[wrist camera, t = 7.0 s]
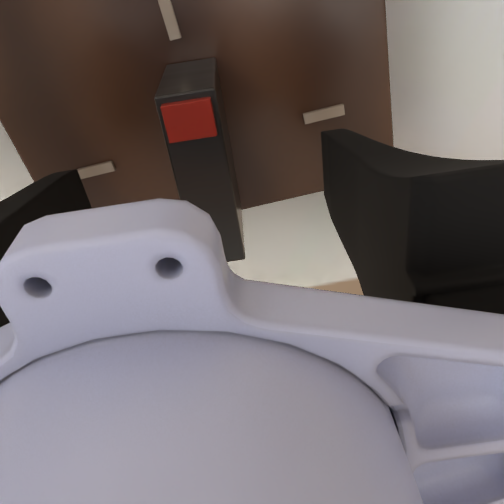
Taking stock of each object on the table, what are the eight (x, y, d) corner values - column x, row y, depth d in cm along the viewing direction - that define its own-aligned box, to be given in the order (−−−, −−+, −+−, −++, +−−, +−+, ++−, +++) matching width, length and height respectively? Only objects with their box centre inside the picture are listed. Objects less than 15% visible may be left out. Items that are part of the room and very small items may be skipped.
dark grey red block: (241, 206, 18) (246, 264, 15) (200, 212, 18) (196, 271, 15) (215, 56, 15) (214, 90, 12) (166, 64, 15) (151, 99, 12)
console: (104, 245, 22) (89, 287, 20) (-23, -9, 16) (-70, 3, 13) (377, 182, 21) (399, 217, 18) (352, -115, 15) (380, -124, 12)
